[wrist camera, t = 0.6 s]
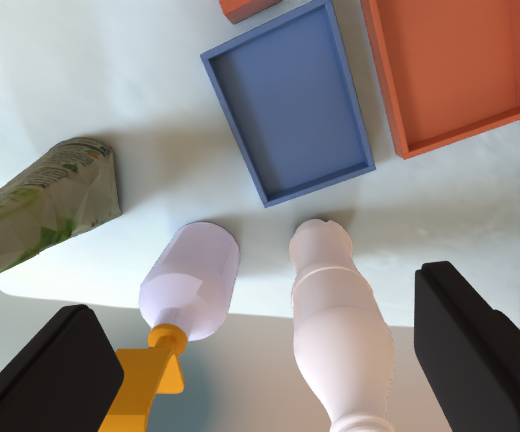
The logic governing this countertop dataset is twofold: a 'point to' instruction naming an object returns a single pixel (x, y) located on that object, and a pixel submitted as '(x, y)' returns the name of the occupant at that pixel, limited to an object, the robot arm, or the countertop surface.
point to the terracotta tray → (445, 68)
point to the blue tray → (292, 103)
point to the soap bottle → (174, 318)
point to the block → (244, 8)
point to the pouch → (57, 199)
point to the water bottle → (339, 330)
